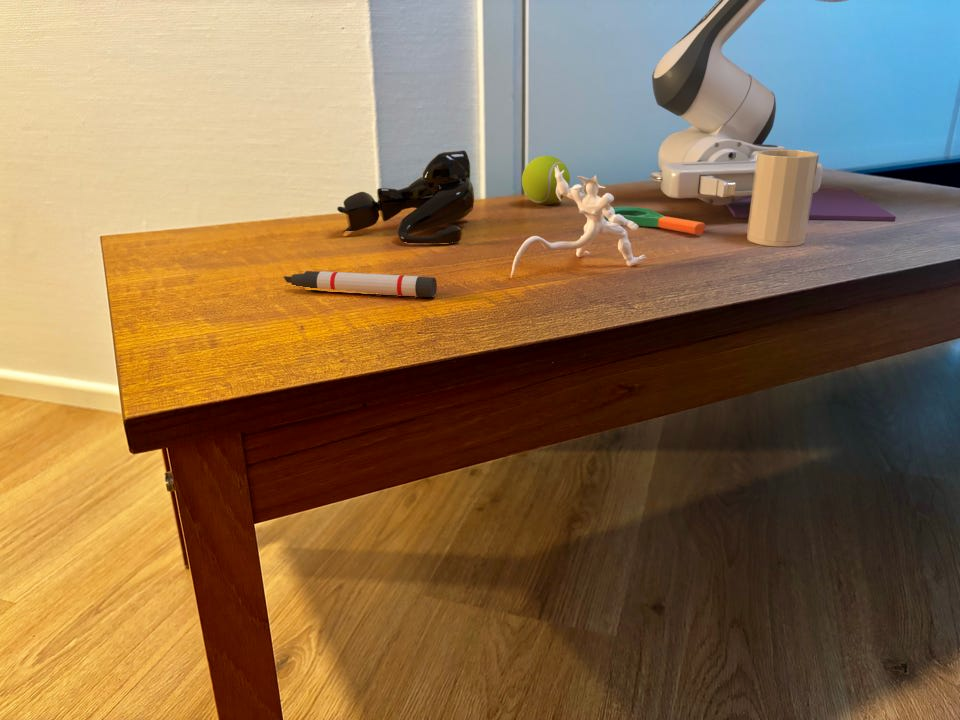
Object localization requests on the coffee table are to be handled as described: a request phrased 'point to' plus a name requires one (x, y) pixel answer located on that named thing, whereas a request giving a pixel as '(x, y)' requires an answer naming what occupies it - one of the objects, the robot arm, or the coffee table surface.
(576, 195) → the creature figurine
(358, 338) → the coffee table surface
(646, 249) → the coffee table surface
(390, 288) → the marker
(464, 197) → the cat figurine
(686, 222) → the magnifying glass
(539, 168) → the tennis ball
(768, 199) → the pen cup
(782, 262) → the coffee table surface
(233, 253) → the coffee table surface
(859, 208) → the mat
